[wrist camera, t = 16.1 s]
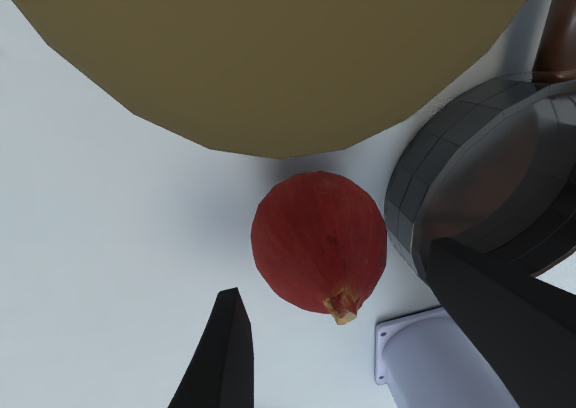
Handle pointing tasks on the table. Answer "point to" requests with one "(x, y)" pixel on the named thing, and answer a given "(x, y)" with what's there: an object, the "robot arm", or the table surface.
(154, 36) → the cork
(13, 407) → the table surface
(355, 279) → the red pomegranate
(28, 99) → the table surface
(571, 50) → the skillet handle
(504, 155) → the skillet
